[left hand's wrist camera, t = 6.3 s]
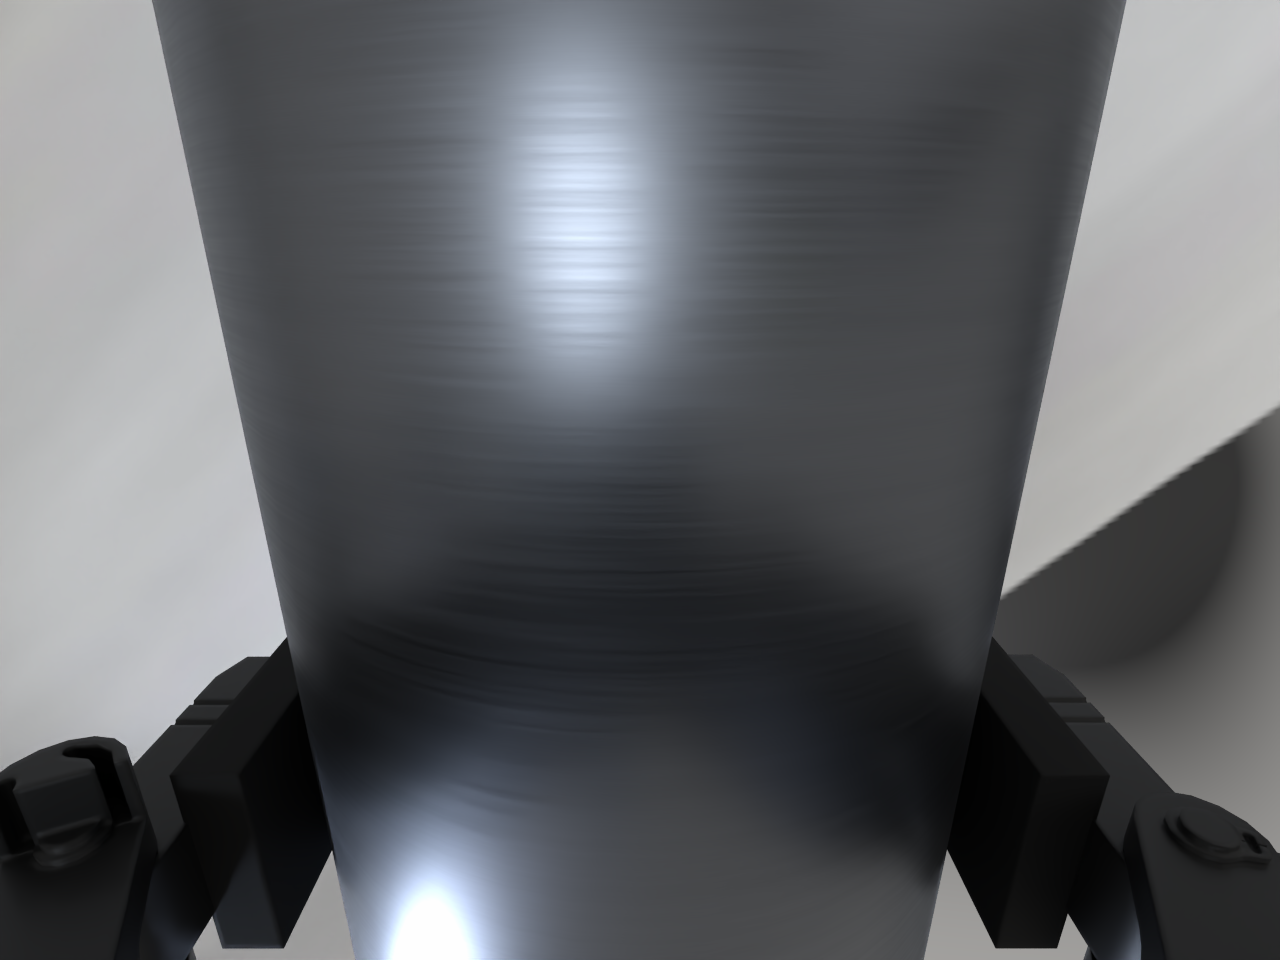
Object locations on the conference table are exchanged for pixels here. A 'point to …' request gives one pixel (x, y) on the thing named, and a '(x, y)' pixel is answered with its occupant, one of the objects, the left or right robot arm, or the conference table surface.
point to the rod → (639, 437)
